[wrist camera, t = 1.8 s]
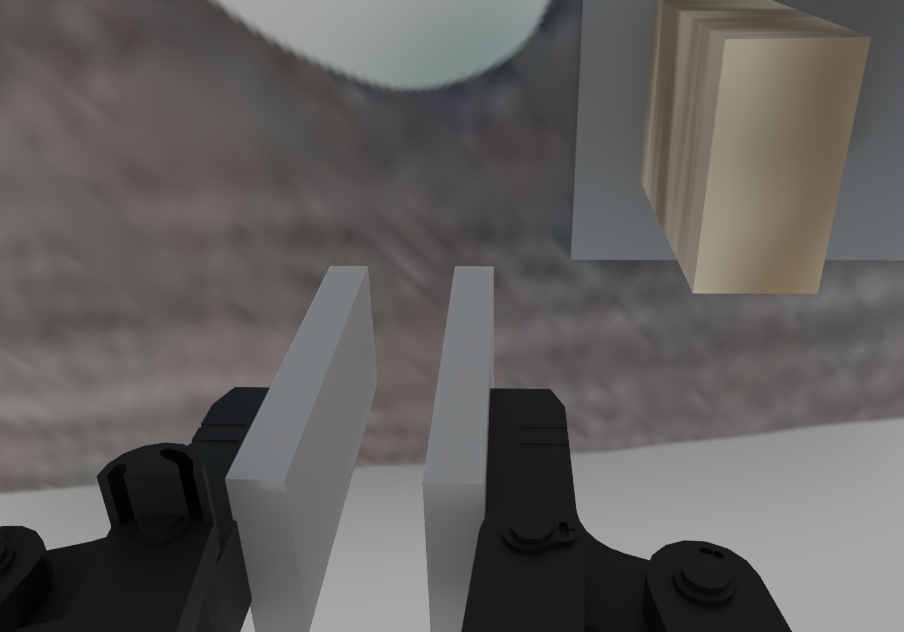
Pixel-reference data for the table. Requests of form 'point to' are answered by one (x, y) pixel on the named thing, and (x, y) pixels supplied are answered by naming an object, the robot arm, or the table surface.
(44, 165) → the table surface
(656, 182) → the maple block
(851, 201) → the rubber mat
